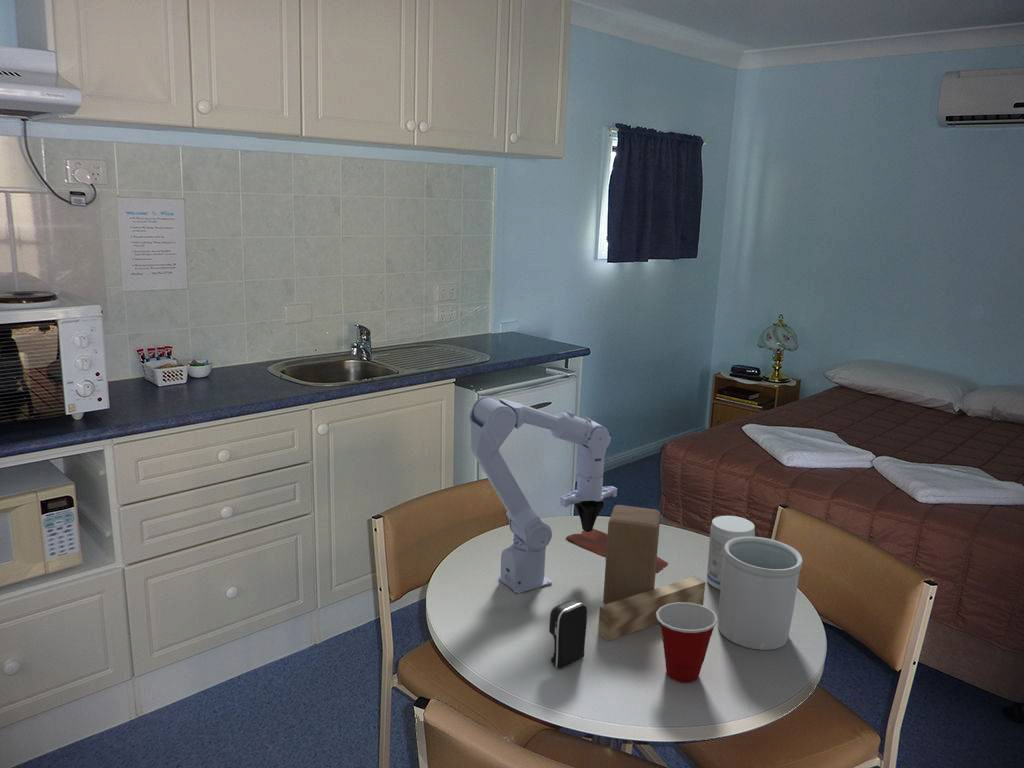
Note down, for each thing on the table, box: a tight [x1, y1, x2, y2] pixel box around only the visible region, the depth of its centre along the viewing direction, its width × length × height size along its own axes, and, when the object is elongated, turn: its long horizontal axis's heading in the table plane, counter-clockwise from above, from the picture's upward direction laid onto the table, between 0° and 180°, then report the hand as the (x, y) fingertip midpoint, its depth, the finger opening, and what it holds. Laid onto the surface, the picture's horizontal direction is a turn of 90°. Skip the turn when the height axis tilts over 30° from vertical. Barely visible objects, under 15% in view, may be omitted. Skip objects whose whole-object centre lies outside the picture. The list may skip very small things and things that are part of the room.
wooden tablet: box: [565, 528, 669, 574], centre depth 193 cm, size 27×10×2 cm, turn 45°
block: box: [602, 504, 661, 605], centre depth 167 cm, size 10×10×20 cm
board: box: [597, 575, 706, 642], centre depth 161 cm, size 26×3×6 cm, turn 123°
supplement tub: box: [706, 515, 756, 591], centre depth 177 cm, size 10×10×15 cm
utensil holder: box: [717, 536, 804, 651], centre depth 157 cm, size 15×15×18 cm
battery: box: [548, 599, 588, 670], centre depth 146 cm, size 7×4×11 cm, turn 131°
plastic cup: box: [656, 602, 718, 684], centre depth 143 cm, size 11×11×12 cm
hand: (587, 530), depth 180 cm, fingers closed
